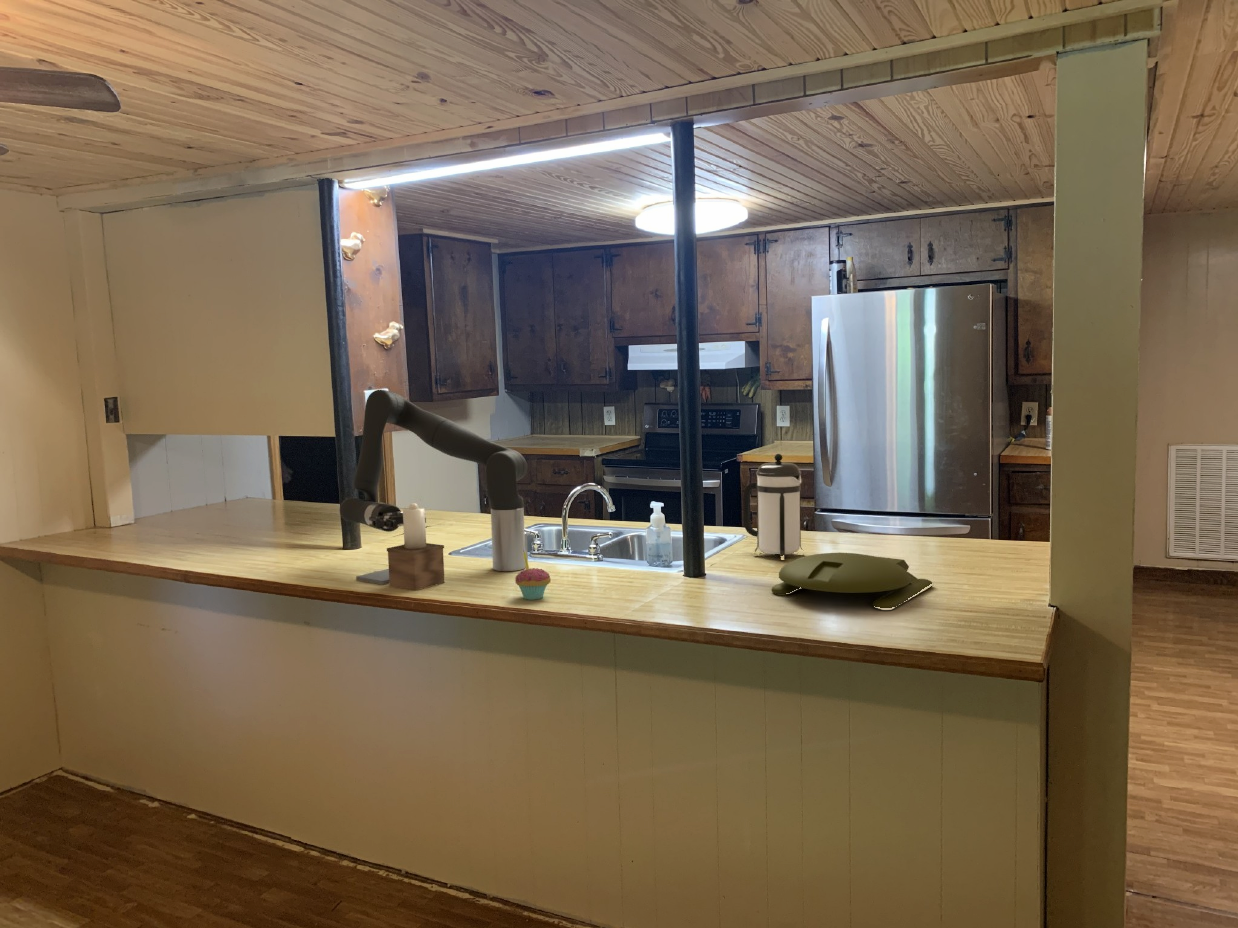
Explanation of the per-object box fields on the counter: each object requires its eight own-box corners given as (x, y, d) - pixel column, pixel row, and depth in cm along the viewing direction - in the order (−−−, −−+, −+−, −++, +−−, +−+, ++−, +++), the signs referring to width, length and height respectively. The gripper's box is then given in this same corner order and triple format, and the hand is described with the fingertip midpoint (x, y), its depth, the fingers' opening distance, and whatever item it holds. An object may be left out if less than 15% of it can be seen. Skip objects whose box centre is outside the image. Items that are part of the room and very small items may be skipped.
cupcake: (518, 602, 213) (517, 553, 212) (513, 594, 221) (511, 547, 220) (554, 599, 216) (552, 550, 214) (547, 591, 224) (545, 544, 223)
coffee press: (801, 550, 269) (801, 451, 266) (807, 561, 253) (807, 455, 250) (743, 550, 270) (742, 451, 268) (745, 561, 255) (744, 456, 252)
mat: (391, 571, 252) (390, 568, 252) (417, 575, 245) (417, 572, 245) (356, 579, 242) (356, 576, 242) (383, 584, 236) (383, 580, 235)
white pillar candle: (416, 544, 238) (414, 500, 237) (430, 545, 235) (428, 502, 234) (399, 547, 234) (397, 503, 233) (414, 549, 230) (412, 505, 229)
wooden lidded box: (418, 578, 242) (416, 541, 242) (445, 582, 236) (444, 545, 236) (388, 585, 234) (386, 548, 233) (415, 590, 228) (413, 551, 227)
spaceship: (820, 573, 239) (820, 537, 238) (936, 588, 220) (936, 549, 219) (755, 600, 212) (754, 560, 211) (880, 620, 193) (880, 575, 192)
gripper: (357, 505, 244) (383, 511, 231) (406, 500, 253) (433, 505, 240) (359, 533, 244) (384, 540, 232) (407, 526, 253) (434, 533, 241)
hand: (409, 522), depth 236 cm, fingers open, 8 cm apart
